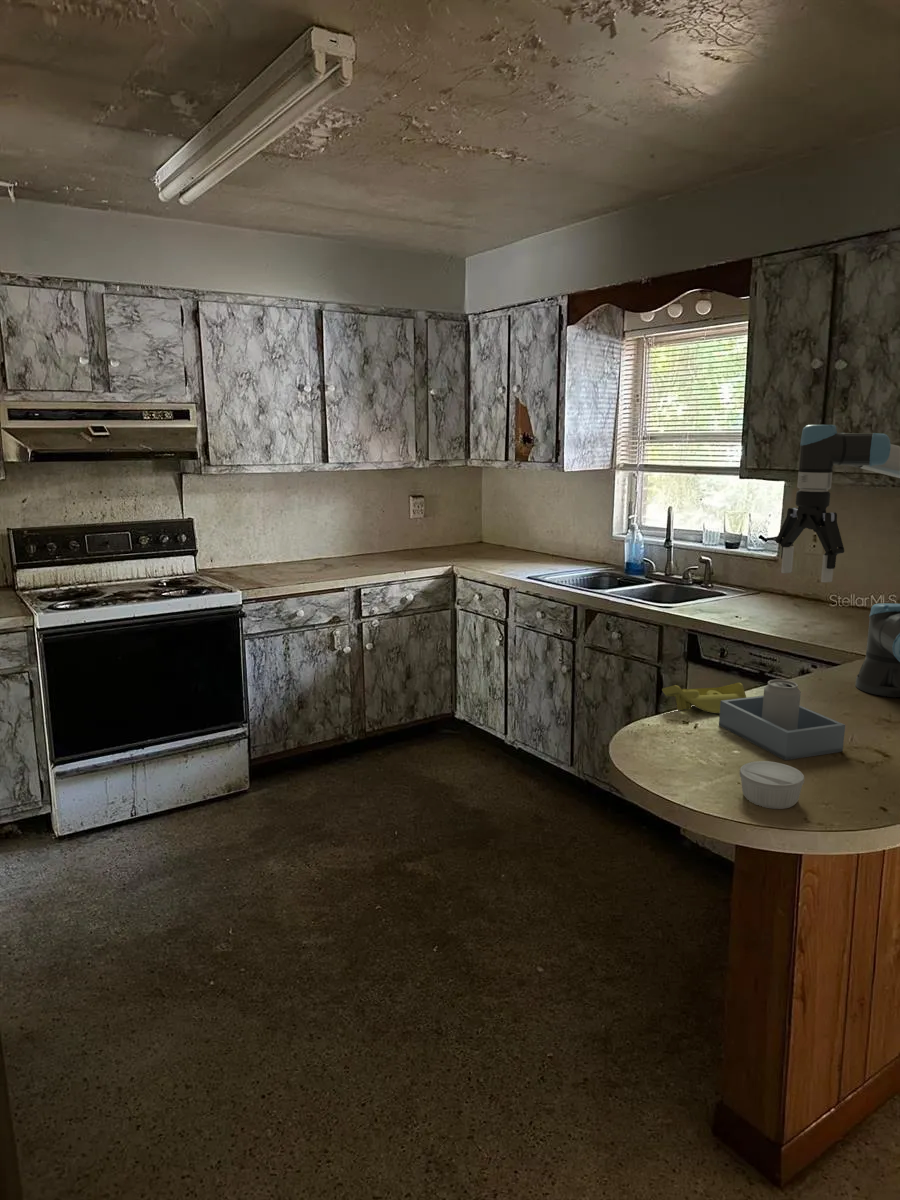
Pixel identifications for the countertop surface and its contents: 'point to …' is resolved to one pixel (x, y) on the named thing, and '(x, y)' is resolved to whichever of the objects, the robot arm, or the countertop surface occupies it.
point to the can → (781, 704)
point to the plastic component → (704, 696)
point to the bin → (782, 730)
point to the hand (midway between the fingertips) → (805, 577)
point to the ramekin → (771, 784)
